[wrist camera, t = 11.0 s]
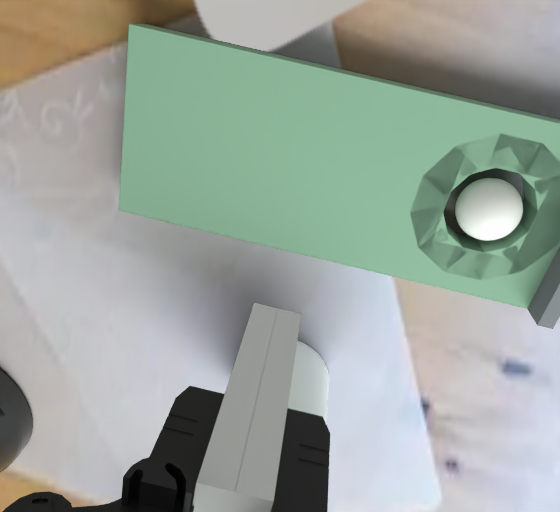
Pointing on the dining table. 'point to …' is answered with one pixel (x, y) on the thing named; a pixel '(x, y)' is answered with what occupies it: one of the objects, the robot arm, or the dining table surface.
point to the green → (335, 165)
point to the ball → (489, 209)
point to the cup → (309, 382)
